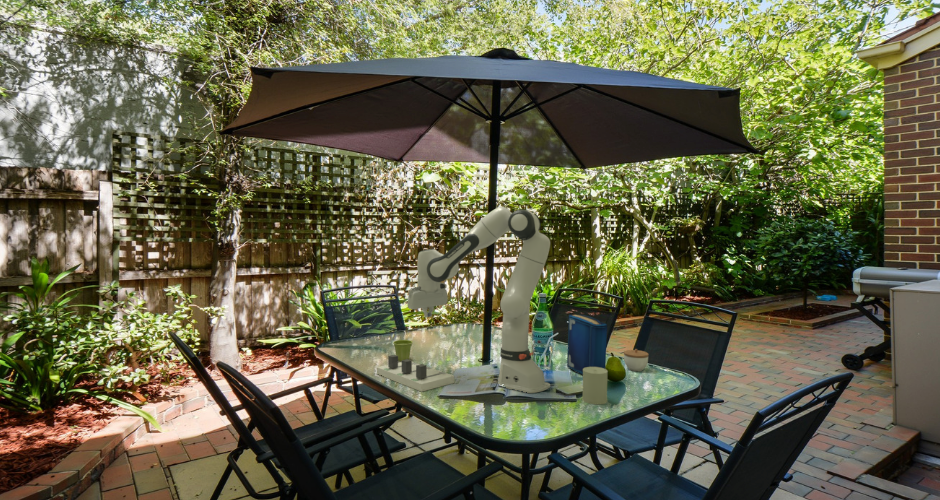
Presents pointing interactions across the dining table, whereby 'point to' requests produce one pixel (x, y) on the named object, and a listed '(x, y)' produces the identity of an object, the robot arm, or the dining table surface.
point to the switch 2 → (421, 371)
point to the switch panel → (410, 380)
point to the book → (586, 343)
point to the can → (594, 385)
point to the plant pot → (402, 349)
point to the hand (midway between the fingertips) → (428, 317)
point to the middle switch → (406, 366)
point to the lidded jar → (636, 359)
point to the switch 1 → (393, 361)
